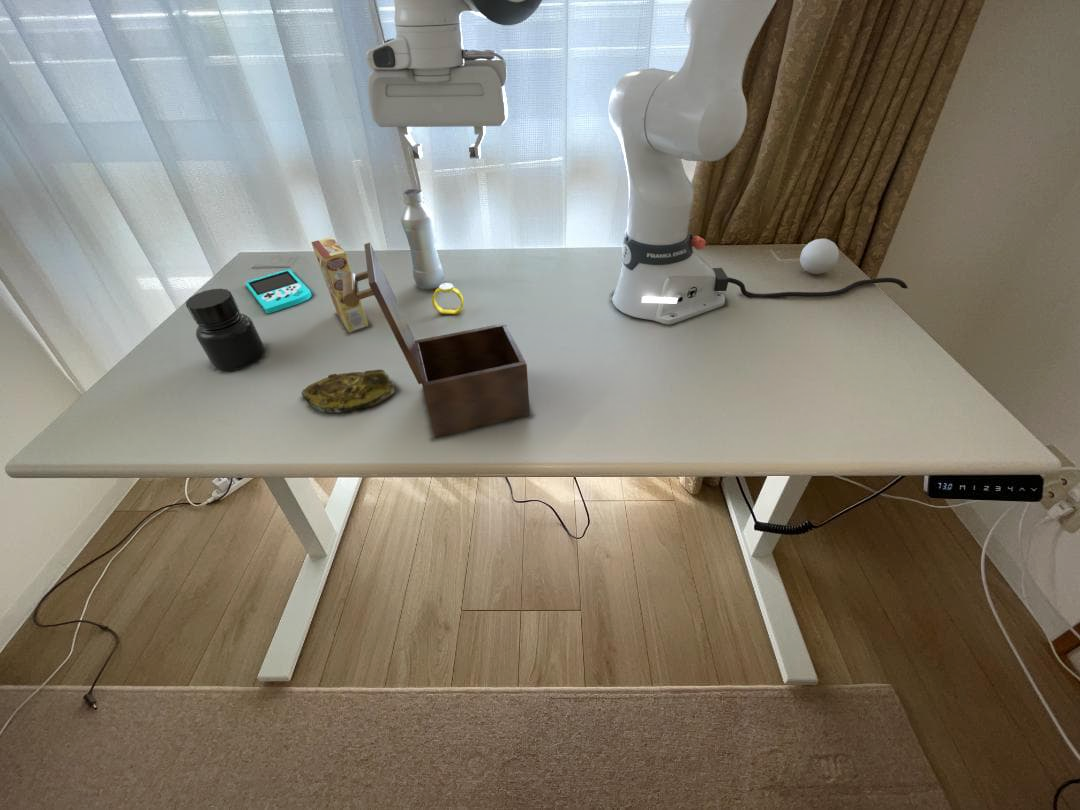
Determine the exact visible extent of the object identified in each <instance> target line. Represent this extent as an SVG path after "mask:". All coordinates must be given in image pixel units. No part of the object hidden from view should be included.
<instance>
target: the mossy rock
mask: <svg viewBox="0 0 1080 810" xmlns="http://www.w3.org/2000/svg"><path fill="white" fill-rule="evenodd" d="M394 393H396V385H395V384H394V382H393V381H392V380H390V375H389V374H388V373H387V372H386V370H384V369H372V370H365V371H361V372H360V371H357V372H356V371H353V372H343V373H338V374H337V373H331V374H328V375H327V377H324V378H322V379H320V380H318V381H315V382H313V383H311V384H309V385H307V386H306V387H305V388H304V389H302V391H301V396H302V397H303V398H304V400H305V401H306V402H307V404H308V406H310V407H311V408H312V409H314V410H316V411H319V412H322V413H326V414H341V413H347V412H350V411H356V410H362V409H363V410H364V409H366V408H370V407H373V406H375V405H378V404H379V403H382V402H384V401H385V400H387V399H388V398H389V397H391V396H392V395H393V394H394Z"/></svg>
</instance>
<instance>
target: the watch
mask: <svg viewBox="0 0 1080 810" xmlns="http://www.w3.org/2000/svg"><path fill="white" fill-rule="evenodd" d="M440 292H441V293H451V292H452V293H454V294H456V296H457V297H458V298H459V300H460V305H459V307H457V308H456V309H448V308H447V309H446V308H443V307H441V306H440V305H439V304H438V302H437V300H436V296H437V295H438V294H439V293H440ZM431 301H432V302H431V303H432V306H433V307H434V309H435V310H436V311H437V312H438V313H439V314H441V315H457V314H459V313H460V312H461V311H462V309H463V307H464V301H465V300H464V296H463V294H462V292H461V291H460V290H459V289H458V288H456V287H455V286H454V283H451V282H443V283H442V284H441V285H440V286H439V287H437V288H435V291H434V293H433V294H432V297H431Z"/></svg>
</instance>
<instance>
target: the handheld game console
mask: <svg viewBox="0 0 1080 810" xmlns="http://www.w3.org/2000/svg"><path fill="white" fill-rule="evenodd" d="M245 286H246V287H247V289H248V290H249V291H250V293H251V294H252V295H253V297H254V298H255V299H256V300H257V302H258V303H259V305H260V306H261V308H262V309H263V310H264V311H265V313H266V314H269V315H270V314H272V313H275V312H279V311H281V310H284V309H287V308H290V307H293V306H296V305H298V304H301V303H304V302H306V301H308V300H309V299H310V298H312V293H311V290H310V289H309V288H308V287H307V285H305V283H304V282H303V281H302V280H301V279H299V277H298V276H297V275H296V274H295V273H294V272H293V271H292V270H291V269H290V268H287V269H284V270H281V271H277V272H274V273H271V274H267V275H264V276H261V277H257V278H254V279H250V280H247V281H245Z"/></svg>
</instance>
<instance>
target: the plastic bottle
mask: <svg viewBox="0 0 1080 810" xmlns="http://www.w3.org/2000/svg"><path fill="white" fill-rule="evenodd" d="M402 195H403V196H402V197H403V203H404V204H405V206H404V209H403V210H402V211H403V212H402V213H401V216H400V222H401V226H402V229H403V231H404V234H405V236H406V238H407V242H408V246H409V250H410V255H411V261H412V274H413V275H412V277H413V280H414V283H415V284H416V286H417V287H419V289H422V290H433V289H437V288H439V286H440V285H441V284H443V283H444V281H445V272H444V268H443V266H442V263H441V260H440V257H439V254H438V253H439V252H438V250H437V245H436V242H437V241H436V236H435V235H436V234H435V217H434V215H433V213H432V211H431V210H430V209H429V207H428V206H427V205H426V204H424V201H425V198H424V194H423V190H422V189H420V188H409V189H405V190H403V191H402Z"/></svg>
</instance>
